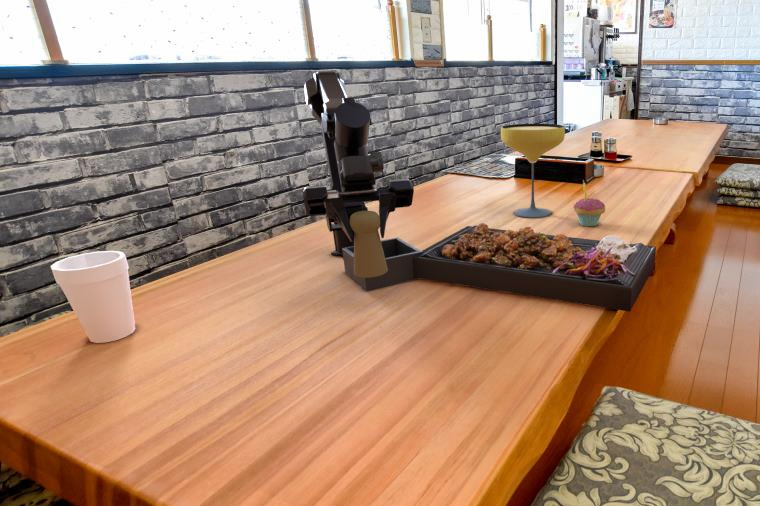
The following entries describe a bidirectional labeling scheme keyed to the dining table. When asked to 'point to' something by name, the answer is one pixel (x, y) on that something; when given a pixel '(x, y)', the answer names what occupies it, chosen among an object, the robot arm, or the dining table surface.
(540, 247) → the food platter
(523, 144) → the cocktail glass
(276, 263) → the dining table surface
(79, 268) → the foam cup
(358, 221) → the cork
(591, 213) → the cupcake
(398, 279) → the dark grey open box
